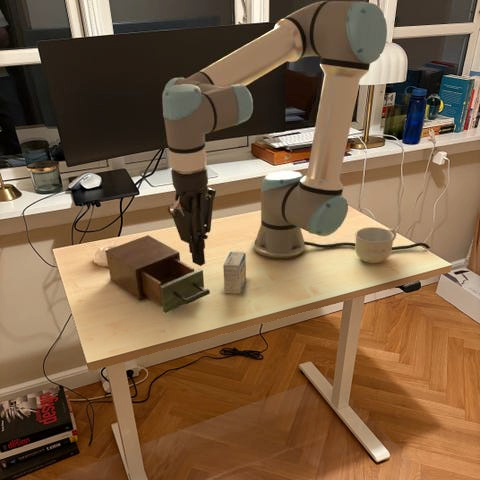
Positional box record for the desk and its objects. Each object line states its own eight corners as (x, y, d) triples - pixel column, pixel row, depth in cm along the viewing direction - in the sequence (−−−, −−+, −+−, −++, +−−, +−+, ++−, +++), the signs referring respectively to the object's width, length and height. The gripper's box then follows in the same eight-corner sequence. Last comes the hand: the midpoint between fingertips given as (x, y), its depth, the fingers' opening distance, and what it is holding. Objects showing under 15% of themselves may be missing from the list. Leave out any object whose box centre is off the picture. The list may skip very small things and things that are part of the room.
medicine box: (240, 294, 129) (240, 266, 124) (224, 293, 130) (223, 264, 125) (246, 280, 136) (245, 252, 131) (230, 278, 137) (229, 250, 132)
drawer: (219, 303, 124) (218, 278, 120) (179, 323, 117) (177, 297, 113) (173, 276, 136) (171, 252, 132) (135, 292, 129) (131, 268, 125)
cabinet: (182, 282, 135) (179, 252, 130) (140, 301, 128) (135, 269, 122) (151, 263, 144) (148, 235, 139) (110, 280, 137) (105, 250, 131)
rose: (102, 237, 149) (130, 241, 147) (104, 250, 151) (133, 254, 149) (84, 252, 141) (115, 256, 139) (87, 265, 144) (117, 269, 141)
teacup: (365, 269, 140) (369, 244, 135) (345, 253, 148) (348, 229, 143) (406, 261, 144) (411, 236, 139) (384, 245, 152) (388, 221, 147)
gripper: (197, 153, 107) (206, 246, 122) (153, 173, 100) (168, 269, 115) (223, 161, 103) (228, 256, 119) (179, 182, 96) (190, 280, 111)
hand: (198, 262), depth 117 cm, fingers closed
